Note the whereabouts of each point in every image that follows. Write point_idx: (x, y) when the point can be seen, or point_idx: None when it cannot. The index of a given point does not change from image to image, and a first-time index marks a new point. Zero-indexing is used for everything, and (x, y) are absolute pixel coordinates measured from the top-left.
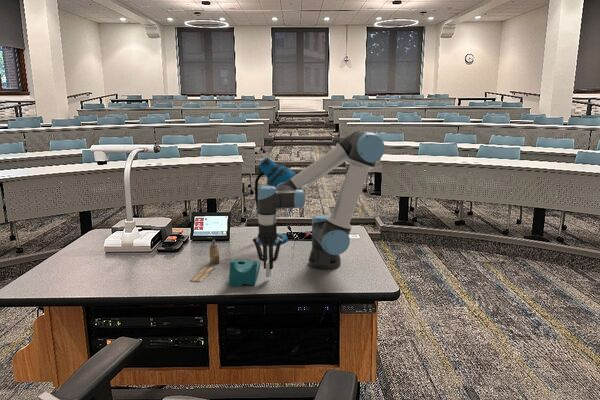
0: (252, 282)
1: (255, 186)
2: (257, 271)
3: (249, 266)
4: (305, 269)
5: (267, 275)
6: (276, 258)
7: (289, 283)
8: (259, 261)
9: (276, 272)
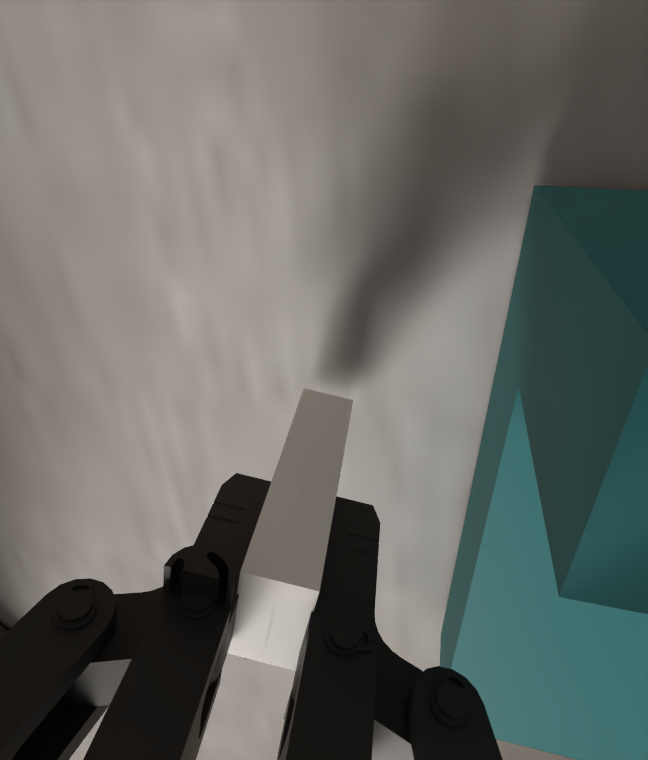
0: (589, 196)
1: None
2: (485, 502)
3: (613, 626)
4: (20, 582)
5: (328, 408)
6: (3, 649)
7: (53, 285)
8: None
9: None
